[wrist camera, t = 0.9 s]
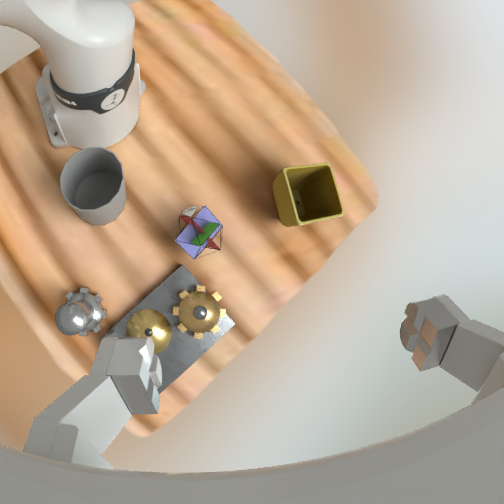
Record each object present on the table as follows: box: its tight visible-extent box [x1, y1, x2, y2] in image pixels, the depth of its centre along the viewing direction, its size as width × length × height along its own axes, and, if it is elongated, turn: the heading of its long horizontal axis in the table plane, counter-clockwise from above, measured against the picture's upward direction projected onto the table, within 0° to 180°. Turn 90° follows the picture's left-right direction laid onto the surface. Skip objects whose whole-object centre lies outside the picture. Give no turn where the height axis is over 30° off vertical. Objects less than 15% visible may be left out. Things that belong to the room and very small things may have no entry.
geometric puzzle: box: [175, 205, 223, 260], centre depth 44 cm, size 7×7×8 cm
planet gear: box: [55, 288, 107, 336], centre depth 35 cm, size 7×7×11 cm
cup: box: [60, 147, 127, 225], centre depth 38 cm, size 8×8×10 cm
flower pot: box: [272, 163, 344, 227], centre depth 49 cm, size 9×9×9 cm
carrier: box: [100, 265, 235, 394], centre depth 43 cm, size 12×17×4 cm
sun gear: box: [172, 285, 226, 339], centre depth 44 cm, size 8×8×4 cm
